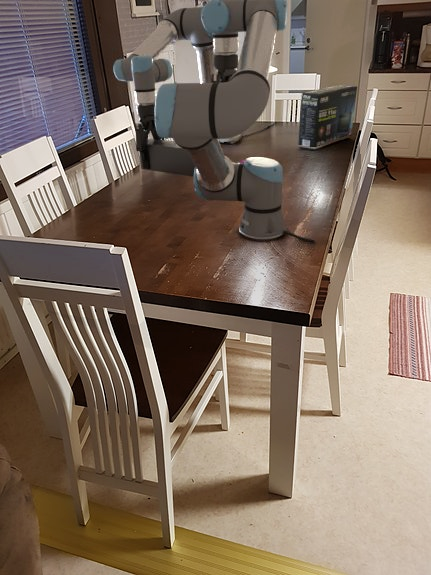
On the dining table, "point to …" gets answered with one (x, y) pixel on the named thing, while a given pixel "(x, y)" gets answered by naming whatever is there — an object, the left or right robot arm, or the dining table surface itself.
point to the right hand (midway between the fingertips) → (227, 127)
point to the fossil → (231, 139)
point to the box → (168, 158)
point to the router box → (326, 115)
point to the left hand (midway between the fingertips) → (153, 165)
